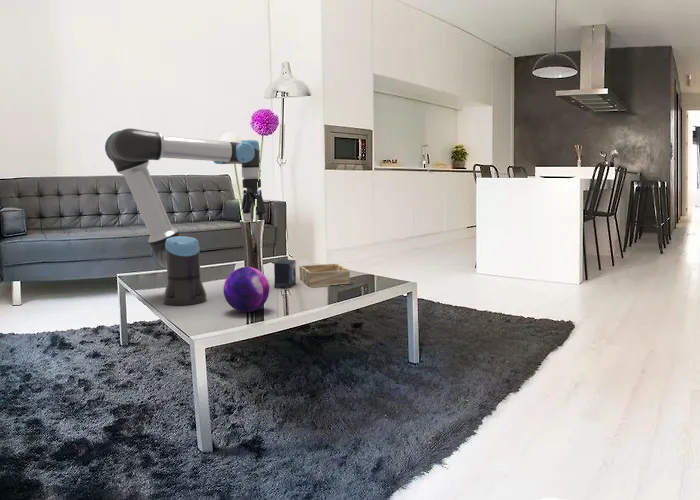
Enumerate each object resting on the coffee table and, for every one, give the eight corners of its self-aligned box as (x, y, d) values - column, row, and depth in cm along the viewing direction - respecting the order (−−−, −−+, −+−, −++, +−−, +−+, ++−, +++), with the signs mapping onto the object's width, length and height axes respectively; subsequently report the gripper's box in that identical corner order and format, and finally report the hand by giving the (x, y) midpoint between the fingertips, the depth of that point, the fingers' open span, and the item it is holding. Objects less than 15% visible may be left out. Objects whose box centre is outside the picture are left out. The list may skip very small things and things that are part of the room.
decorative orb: (245, 305, 202) (243, 262, 200) (279, 309, 194) (277, 265, 192) (215, 313, 189) (212, 269, 187) (249, 318, 181) (247, 271, 180)
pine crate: (349, 284, 237) (349, 270, 236) (309, 287, 232) (309, 273, 232) (337, 276, 257) (336, 263, 256) (299, 279, 252) (299, 265, 252)
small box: (289, 288, 231) (288, 263, 230) (274, 288, 233) (273, 262, 231) (297, 284, 242) (296, 259, 240) (282, 283, 243) (281, 259, 242)
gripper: (272, 177, 227) (274, 230, 230) (248, 178, 248) (251, 227, 251) (254, 178, 223) (257, 232, 226) (232, 178, 244) (234, 228, 247)
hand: (254, 229), depth 238 cm, fingers open, 13 cm apart
